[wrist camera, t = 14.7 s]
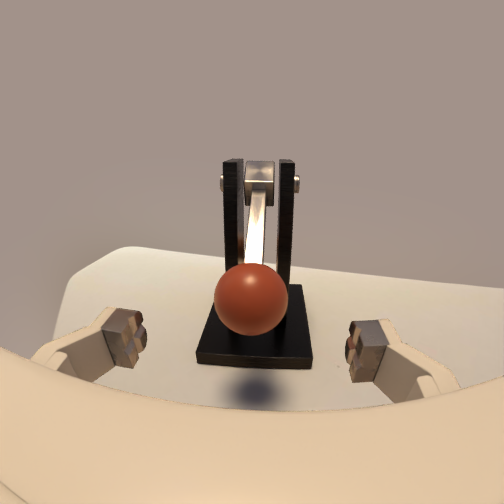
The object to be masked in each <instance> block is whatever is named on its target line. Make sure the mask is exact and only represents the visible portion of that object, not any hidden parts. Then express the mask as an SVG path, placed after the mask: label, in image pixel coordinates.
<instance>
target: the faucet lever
mask: <svg viewBox="0 0 504 504" xmlns="http://www.w3.org/2000/svg"><path fill="white" fill-rule="evenodd" d="M274 164H275V163H274V161H247V162H246V168H245V175H244V181H243V183H244V197H245V205H246V206H250V208H249V217H248V226H247V236H246V245H245V255H244V263H242V264H239V265H236V266H234V267H232V268H231V269H229V270H228V271H227V272H226V273H225V274H224V275H223V276H222V277H221V278H220V280H219V282H218V284H217V286H216V289H215V293H214V305H215V309H216V312H217V314H218V316H219V318H220V320H221V321H222V322H223V324H225V325H226V326H227V327H228V328H229V329H230V330H232V331H234V332H236V333H239V334H242V335H247V336H255V335H260V334H264V333H266V332H268V331H270V330H272V329H273V328H274V327H275V326H277V325H278V324H279V322H280V321H281V320H282V318H283V316H284V314H285V312H286V309H287V305H288V294H287V289H286V286H285V284H284V282H283V280H282V278H281V277H280V276H279V275H278V274H277V273H276V272H275V271H274V270H273V269H271V268H270V267H268V266H266V265H263V261H264V240H265V221H266V206H274Z"/></svg>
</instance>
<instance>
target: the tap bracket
mask: <svg viewBox="0 0 504 504" xmlns="http://www.w3.org/2000/svg"><path fill="white" fill-rule="evenodd" d="M299 184H300V182H299V176H298V175H295V163H294V162H293V161H292V160H286V159H280V160H279V198H278V199H279V200H278V233H277V260H276V273H277V274H278V275H279V276H280V277H281V278H282V280H283V282H284V284H285V286H286V289H287V294H288V305H287V309H286V312H285V314H284V316H283V318H282V320H281V321H280V322H279V324H278V325H277V326H275V327H274V328H273V329H272V330H270V331H268V332H266V333H264V334H260V335H255V336H247V335H242V334H239V333H236V332H234V331H232V330H230V329H229V328H228V327H227V326H226V325H225V324H223V322H222V321H221V320H220V318H219V316H218V314H217V312H216V309H215V305H214V303H213V306H212V308H211V311H210V314H209V317H208V319H207V322H206V325H205V328H204V330H203V333H202V336H201V339H200V341H199V344H198V347H197V350H196V358H197V363H203V364H213V365H224V366H237V367H254V368H281V369H311V366H312V361H313V354H312V347H311V340H310V334H309V327H308V321H307V314H306V308H305V302H304V296H303V290H302V285H301V284H289V281H290V265H291V248H292V230H293V208H294V193H299ZM220 189H221V191H222V192H223V206H224V242H225V270H226V272H227V271H228V270H229V269H231V268H232V267H234V266H236V265H239V264H242V263H244V204H243V203H244V202H243V200H244V196H243V194H244V193H243V159H231V160H228V161H225V162H223V174H221V177H220Z"/></svg>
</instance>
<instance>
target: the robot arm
mask: <svg viewBox="0 0 504 504" xmlns="http://www.w3.org/2000/svg"><path fill="white" fill-rule="evenodd" d="M142 322H143V317H142V313H141V312H140V311H136V310H129V309H122V308H115V307H106V308H105V309H104V311H103V312H102V313H101V314H100V315H99V316H98V317H97V318H96V320H95V321H94V322H93V323H92V324H91V325H90V326H89V327H84V328H82V329H79V330H77V331H75V332H72V333H70V334H68V335H65V336H63V337H60V338H58V339H56V340H53V341H51V342H49V343H47V344H44V345H42V346H41V347H40V349H39V350H38V351H37V352H36V353H35V354H34V355H33V357H32V358H31V359H30V360H29V359H26V358H24V357H22V356H19V355H17V354H15V353H13V352H11V351H9V350H7V349H5V348H3V347H1V346H0V504H504V375H503V376H501V377H498V378H495V379H492V380H489V381H486V382H483V383H480V384H477V385H474V386H470V387H467V388H463V389H461V387H460V386H459V384H458V382H457V380H456V378H455V377H454V375H453V373H452V372H451V370H450V369H448V368H446V367H445V366H443V365H441V364H440V363H438V362H436V361H435V360H433V359H431V358H430V357H428V356H426V355H425V354H423V353H421V352H420V351H418V350H416V349H415V348H413V347H411V346H410V345H408V344H403V343H402V341H401V339H400V337H399V336H398V334H397V332H396V330H395V328H394V327H393V325H392V323H391V321H390V320H389V319H380V320H368V321H352V322H351V324H350V328H349V331H350V334H351V336H350V337H349V338H348V339H347V341H346V346H345V357H346V361H347V363H348V364H349V365H350V369H349V373H350V376H351V380H352V383H360V382H373V383H374V384H375V385H376V386H377V387H378V388H379V389H380V390H381V391H382V392H383V393H384V394H385V395H386V396H387V397H389V398H390V399H391V400H392V401H393V402H394V404H387V405H380V406H372V407H363V408H353V409H342V410H325V411H259V410H242V409H229V408H218V407H209V406H201V405H193V404H186V403H180V402H174V401H168V400H162V399H157V398H152V397H147V396H142V395H138V394H133V393H129V392H125V391H121V390H117V389H113V388H109V387H106V386H102V385H99V384H95V383H92V382H93V381H95V380H96V379H98V378H99V377H101V376H102V375H104V374H105V373H106V372H108V371H109V370H111V369H112V368H114V367H115V366H120V367H126V368H131V369H133V368H134V366H135V364H136V363H137V361H138V359H139V356H138V353H140V352H142V351H143V350H144V348H145V347H146V342H147V333H146V329H145V328H144V327H143V326H142V324H141V323H142Z"/></svg>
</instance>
